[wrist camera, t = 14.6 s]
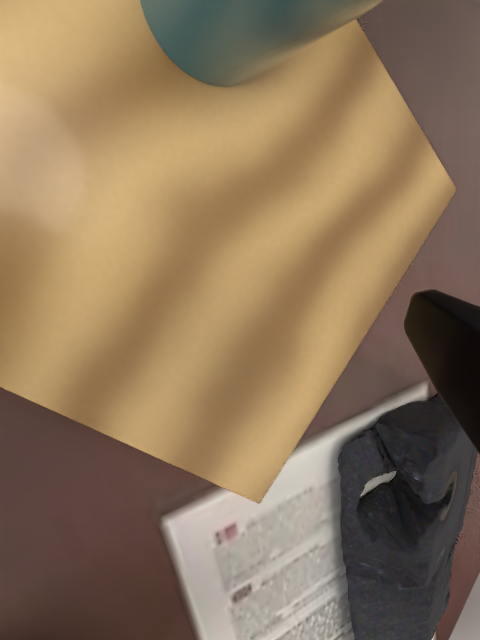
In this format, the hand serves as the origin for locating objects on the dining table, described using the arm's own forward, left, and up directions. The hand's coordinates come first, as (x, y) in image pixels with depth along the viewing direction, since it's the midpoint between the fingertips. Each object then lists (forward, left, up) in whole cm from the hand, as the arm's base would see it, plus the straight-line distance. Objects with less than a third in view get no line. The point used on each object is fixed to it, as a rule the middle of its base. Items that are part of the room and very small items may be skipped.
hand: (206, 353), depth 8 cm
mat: (+1, -7, -12) cm, 14 cm away
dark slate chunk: (-27, -15, -12) cm, 33 cm away
